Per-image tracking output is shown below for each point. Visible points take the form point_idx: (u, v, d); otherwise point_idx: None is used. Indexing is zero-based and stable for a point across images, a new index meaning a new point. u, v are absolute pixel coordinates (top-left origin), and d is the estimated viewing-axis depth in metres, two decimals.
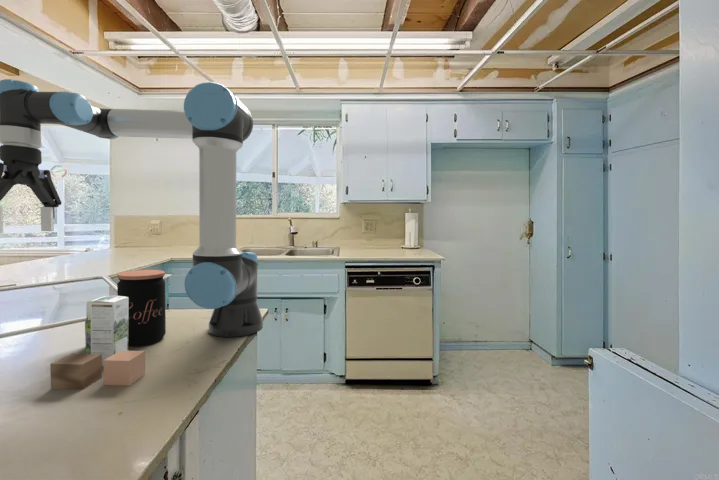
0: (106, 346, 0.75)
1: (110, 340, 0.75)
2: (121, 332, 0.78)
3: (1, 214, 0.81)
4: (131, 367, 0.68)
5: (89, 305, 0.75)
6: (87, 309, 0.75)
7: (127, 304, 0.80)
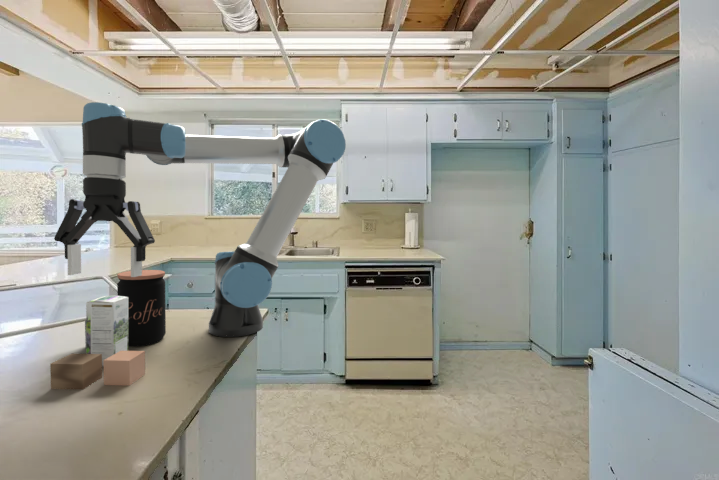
0: (106, 346, 0.75)
1: (110, 340, 0.75)
2: (121, 332, 0.78)
3: (69, 254, 0.75)
4: (131, 367, 0.68)
5: (89, 305, 0.75)
6: (87, 309, 0.75)
7: (127, 304, 0.80)
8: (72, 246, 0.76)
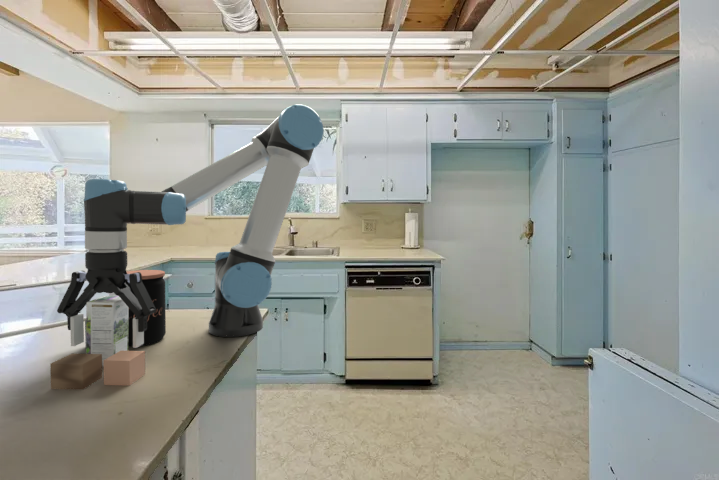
0: (106, 346, 0.75)
1: (110, 340, 0.75)
2: (121, 332, 0.78)
3: (72, 326, 0.76)
4: (131, 367, 0.68)
5: (89, 305, 0.75)
6: (87, 309, 0.75)
7: None
8: (75, 318, 0.77)
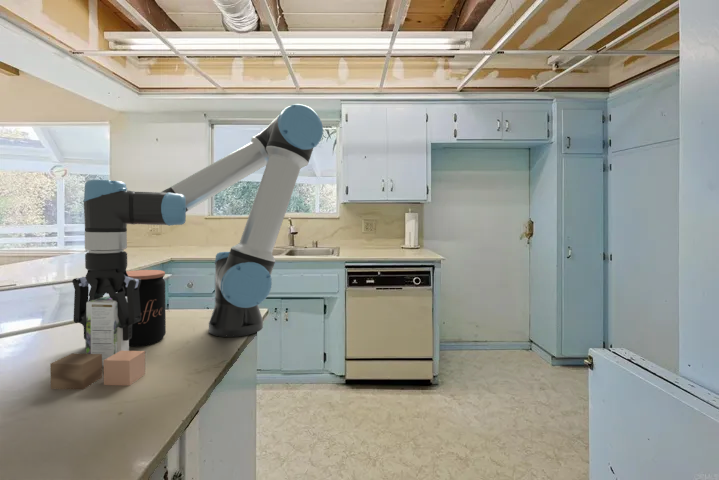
0: (106, 346, 0.75)
1: (110, 340, 0.75)
2: None
3: None
4: (131, 367, 0.68)
5: (89, 305, 0.75)
6: (87, 309, 0.75)
7: None
8: None
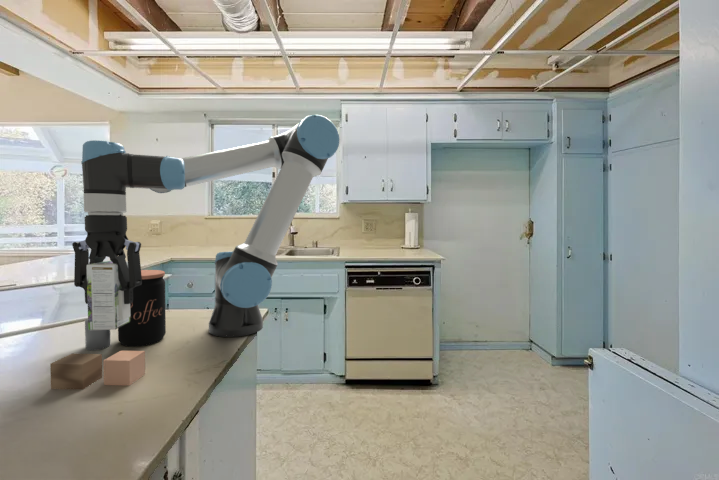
0: (107, 309, 0.75)
1: (111, 303, 0.75)
2: None
3: None
4: (131, 367, 0.68)
5: (89, 268, 0.74)
6: (87, 272, 0.74)
7: None
8: None
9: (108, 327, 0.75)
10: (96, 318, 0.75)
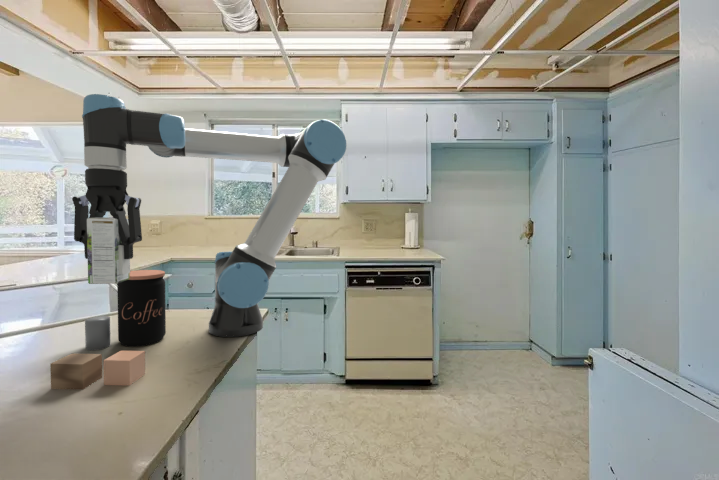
0: (107, 262, 0.76)
1: (111, 256, 0.76)
2: None
3: None
4: (131, 367, 0.68)
5: (89, 221, 0.75)
6: (88, 225, 0.75)
7: None
8: None
9: (108, 281, 0.76)
10: (96, 271, 0.75)
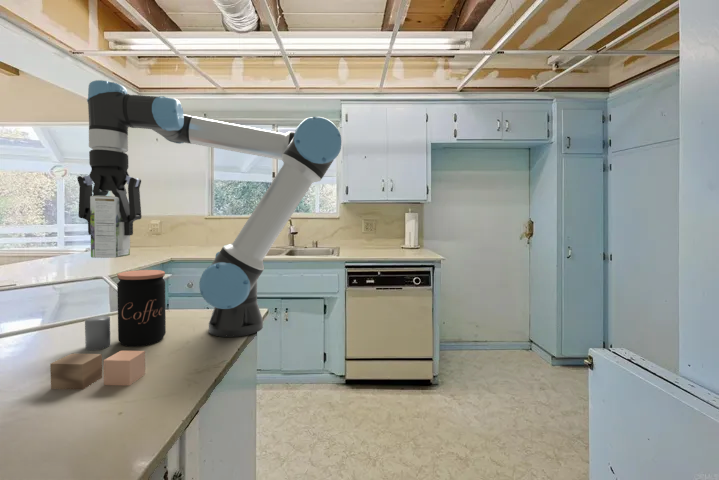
0: (109, 238, 0.81)
1: (112, 232, 0.81)
2: None
3: None
4: (131, 367, 0.68)
5: (93, 199, 0.80)
6: (91, 203, 0.80)
7: None
8: None
9: (109, 255, 0.81)
10: (98, 246, 0.81)
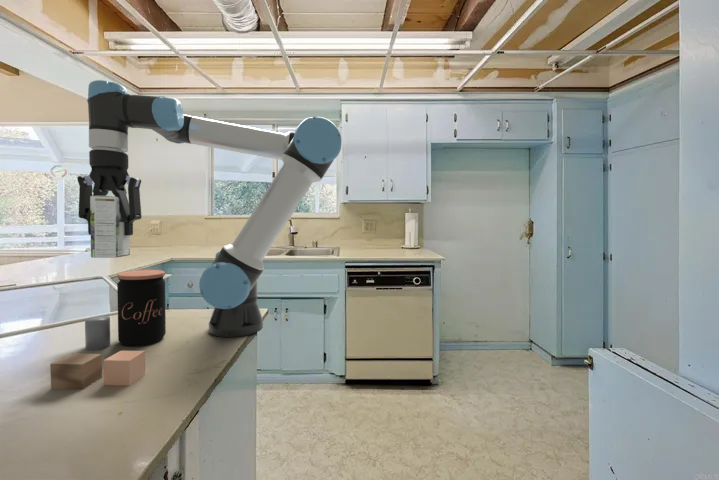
0: (109, 238, 0.81)
1: (112, 232, 0.81)
2: None
3: None
4: (131, 367, 0.68)
5: (93, 199, 0.80)
6: (91, 203, 0.80)
7: None
8: None
9: (109, 255, 0.81)
10: (98, 246, 0.81)
